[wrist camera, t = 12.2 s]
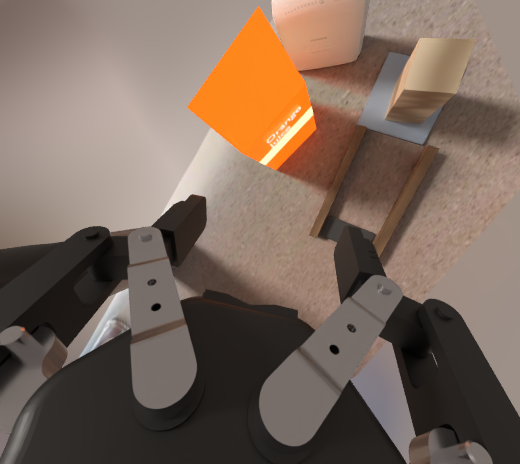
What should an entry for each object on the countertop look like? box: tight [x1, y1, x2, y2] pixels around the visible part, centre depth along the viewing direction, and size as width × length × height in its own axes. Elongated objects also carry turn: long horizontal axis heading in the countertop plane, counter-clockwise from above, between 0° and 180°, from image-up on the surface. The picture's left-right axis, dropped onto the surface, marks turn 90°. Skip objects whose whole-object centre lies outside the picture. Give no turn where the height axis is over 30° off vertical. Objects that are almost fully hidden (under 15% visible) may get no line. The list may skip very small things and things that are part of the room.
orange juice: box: [188, 7, 316, 170], centre depth 26 cm, size 8×9×20 cm
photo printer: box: [272, 0, 370, 71], centre depth 26 cm, size 10×4×12 cm, turn 89°
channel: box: [309, 125, 439, 257], centre depth 32 cm, size 10×17×2 cm, turn 159°
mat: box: [356, 52, 444, 145], centre depth 30 cm, size 9×10×1 cm
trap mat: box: [321, 216, 375, 242], centre depth 34 cm, size 7×3×1 cm, turn 69°
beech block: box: [384, 38, 476, 124], centre depth 25 cm, size 4×4×9 cm
